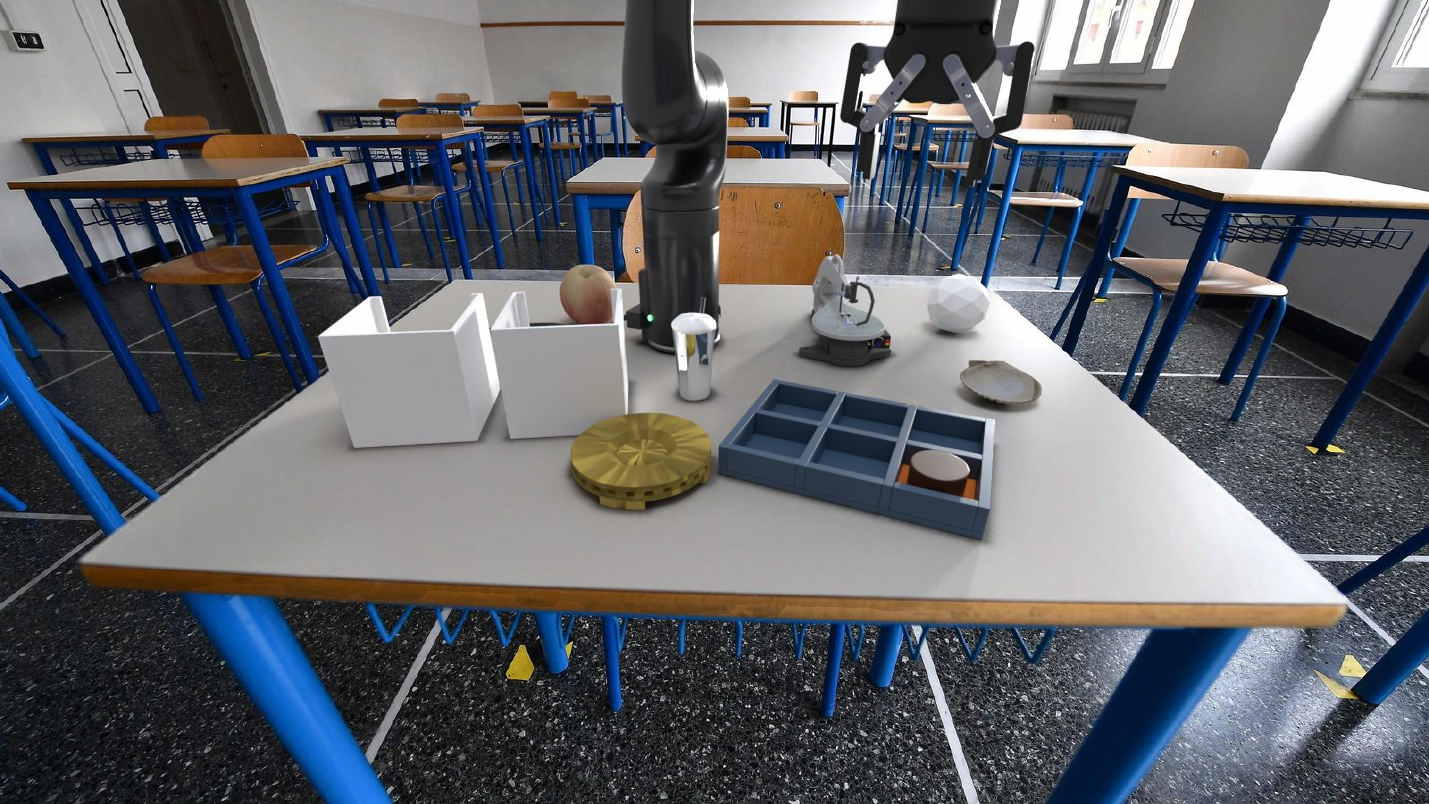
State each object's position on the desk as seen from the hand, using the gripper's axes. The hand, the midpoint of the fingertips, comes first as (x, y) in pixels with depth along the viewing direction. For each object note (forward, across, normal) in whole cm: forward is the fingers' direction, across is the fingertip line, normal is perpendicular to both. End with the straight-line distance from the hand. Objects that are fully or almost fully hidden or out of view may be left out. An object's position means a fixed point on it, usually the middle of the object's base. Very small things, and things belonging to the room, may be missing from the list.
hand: (917, 182), depth 52 cm
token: (+21, -7, +14) cm, 27 cm away
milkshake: (+23, +19, +5) cm, 30 cm away
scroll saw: (+23, +9, -17) cm, 30 cm away
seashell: (+22, -11, -8) cm, 26 cm away
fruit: (+23, +42, -8) cm, 49 cm away
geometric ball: (+22, -5, -27) cm, 36 cm away
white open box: (+23, +34, +18) cm, 45 cm away
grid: (+22, 0, +11) cm, 25 cm away
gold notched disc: (+23, +16, +20) cm, 35 cm away
